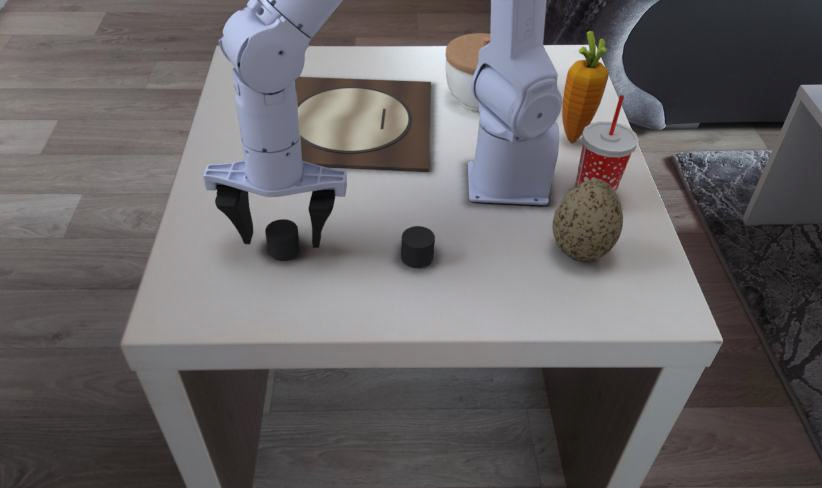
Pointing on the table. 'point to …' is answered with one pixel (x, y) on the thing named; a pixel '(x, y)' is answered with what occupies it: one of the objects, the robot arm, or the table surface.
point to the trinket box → (464, 66)
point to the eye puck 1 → (282, 239)
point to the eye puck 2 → (417, 246)
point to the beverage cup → (606, 150)
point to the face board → (364, 123)
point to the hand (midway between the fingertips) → (282, 240)
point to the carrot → (584, 89)
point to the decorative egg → (588, 221)
